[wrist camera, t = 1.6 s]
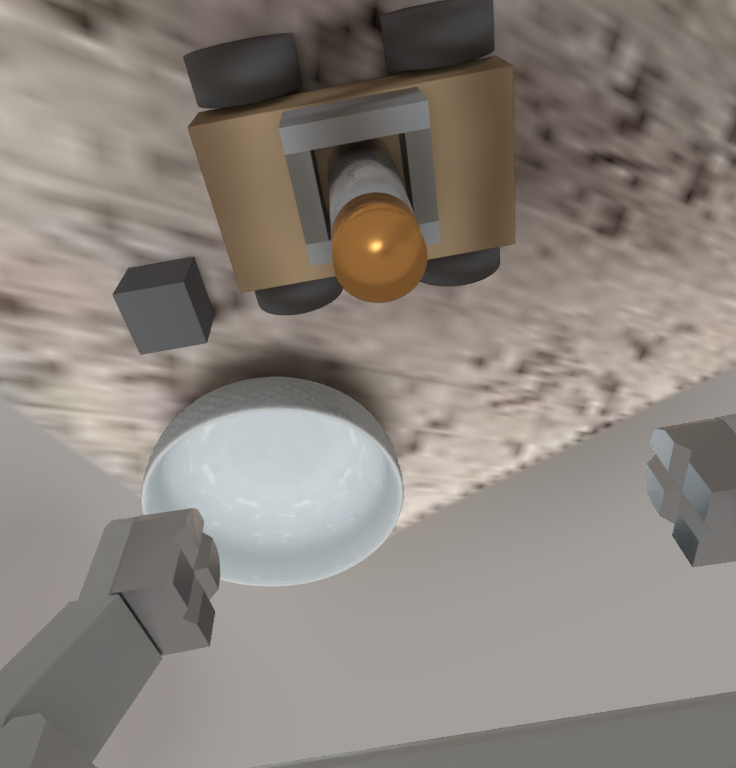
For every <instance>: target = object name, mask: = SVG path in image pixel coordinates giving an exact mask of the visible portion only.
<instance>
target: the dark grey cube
mask: <svg viewBox="0 0 736 768" xmlns="http://www.w3.org/2000/svg"><path fill="white" fill-rule="evenodd" d="M113 297H114V299H115V301H116V303H117V305H118V308H119V310H120V312H121V314H122V316H123V318H124V320H125V323H126V325H127V327H128V329H129V331H130V333H131V335H132V337H133V340H134V342H135V344H136V346H137V348H138V350H139V352H140V355H142V354H147V353H153V352H159V351H164V350H170V349H176V348H181V347H187V346H193V345H198V344H204V343H207V341H208V337H209V334H210V330H211V326H212V323H213V319H214V316H215V314H214V311H213V309H212V306H211V303H210V300H209V297H208V295H207V292H206V289H205V286H204V284H203V281H202V278H201V275H200V272H199V270H198V267H197V264H196V261H195V258H194V257H188V258H183V259H177V260H172V261H166V262H161V263H155V264H150V265H144V266H139V267H133V268H128V270H127V271H126V273H125V275H124V276H123V278H122V280H121V281H120V283H119V285H118V286H117V288H116V290H115V291H114V293H113Z"/></svg>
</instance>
